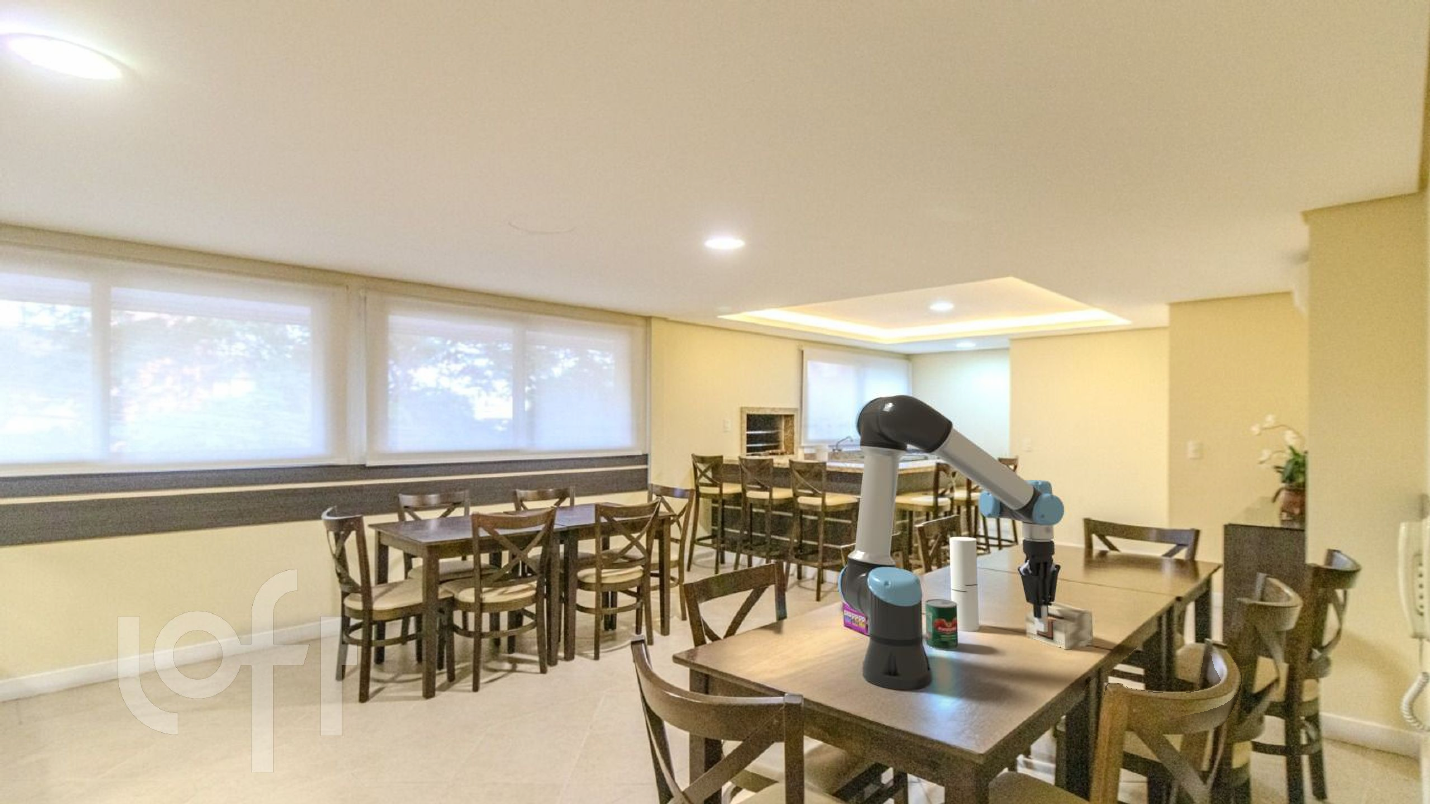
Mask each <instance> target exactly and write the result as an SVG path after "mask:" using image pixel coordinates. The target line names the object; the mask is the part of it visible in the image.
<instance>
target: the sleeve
mask: <svg viewBox="0 0 1430 804" xmlns="http://www.w3.org/2000/svg"><path fill="white" fill-rule="evenodd" d="M1050 603H1052V605H1051V606H1048V614H1049V615H1048V616H1054V617H1057V618H1060V620H1052V635H1053V637H1047V636H1044V635H1041V634H1038V633H1037V630H1036V629H1035V617H1034V615H1033V612H1034V611H1027V612H1025V630H1026V631H1025V632H1026V637H1027V638H1029V637H1030V639H1032V638H1033V640H1036V641H1038V640H1039V641H1038V642H1041V641H1042V643H1044V642H1046V643H1045V644H1047V643H1049V644H1048V645H1050V644H1051V645H1050V646H1053V645H1054V646H1053V647H1056V646H1058V647H1057V648H1059V647H1061V648H1060V649H1062V648H1064V649H1066V650H1069V649H1068V648H1072V649H1076V648H1075V647H1078V648H1082V647H1081V646H1083V647H1087V646H1086V645H1089V646H1093V645H1094V634H1093V633H1094V632H1093V631H1094V630H1093V627H1094V626H1093V612H1092V611H1090V610H1087V609H1083V608H1078V607H1076V606H1072V605H1067V604H1065V603H1061V602H1056V601H1054V602H1050ZM1092 644H1093V645H1092ZM1064 649H1063V650H1064Z"/></svg>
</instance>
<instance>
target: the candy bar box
mask: <svg viewBox="0 0 1430 804" xmlns="http://www.w3.org/2000/svg"><path fill="white" fill-rule="evenodd" d="M842 600H843V599H842ZM842 604H843V605H842V606H843V607H842V608H843V610H842V612H843V617H842V618H843V626H844V627H846V628H848V629H850V630H852V629H853V630H852V631H855V632H858V633H860V634H862V635H864V636H870V631H869V618H868V617H866V616H865V615H863V614H861V613H859V612H857V611H855V610H853V609H852V608H851V607H850V606H849V605H848V604H847V603H846V602H845V601H844V600H843V601H842Z"/></svg>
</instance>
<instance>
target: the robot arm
mask: <svg viewBox="0 0 1430 804" xmlns="http://www.w3.org/2000/svg"><path fill="white" fill-rule="evenodd" d="M855 430H856V432H857V433H858V436H859V437H860V439H859V449H860V450H861V452H862V453H863V454H864V459H863V460H864V461H863V469H862V479H861V488H860V498H859V508H858V509H859V510H858V514H857V515H858V518H857V526H856V527H857V528H856V536H855V545H854V550H853V551H851V552H850V553H849V554H848V555H847V561H846V562H847V563H846V565H845V567H844V568H842V569H841V571H840V573H839V576H838V579H837V580H838V581H837V583H838V584H837V587H838V591H839V595H840V598H842V600H844V601H845V602H846V603H847V604H848V605H849V606H850V607H851V608H852V609H853V610H855V611H857V612H859V613H861V614H863V615H865V616H866V617H868V618H869V631H870V635H869V642H868V645H867V648H866V651H865V652H866V653H865V655H864V660H863V662H862V665H861V666H862V678H864V679H865V680H866V681H868V682H869V683H871V684H874V685H876V686H879V687H882V688H883V687H884V688H886V689H894V690H895V689H896V690H916V689H917V690H918V689H922V688H924V687H928V686H929V685H930V684H931V683H932V682H933V675H932V674H933V673H932V672H933V671H932V668H931V664H930V662H929V661H930V660H929V658H928V655H927V653H926V649H925V647H924V641H923V639H924V638H923V602H922V601H923V600H922V599H923V590H922V583H921V580H920V578H919V577H918V575H916V574H915V573H914V572H912V571H910V570H907V569H901V568H899V567H896V561H895V560H894V559H893V557H892V556H891V550H892V549H891V548H892V536H893V527H894V517H895V509H896V498H897V489H898V488H897V487H898V481H899V480H898V476H899V469H900V459H901V458H902V457H904V456H905V455H906V454H907V451H908V445H909V446H912V447H915V448H917V449H918V450H920V451H922V452H923V453H925V454H926V455H935V456H936V457H938V459H940V460H942V461H943V462H945V463H946V464H947V465H949V466H950V467H952V468H953V469H954V470H956V471H957V472H959V473H960V474H961V475H963V476H965V478H967V479H969V480H970V481H971V482H972V483H974V484H976V485H977V486H978V487H980V488H981V489H983V490H982V491H981V493H980V494H979V496H978V500H977V501H978V509H979V512H980V513H981V515H982V516H984V517H985V518H986V519H995V520H998V519H1007V520H1012V521H1013V520H1014V521H1017V522H1018V521H1019V522H1021V532H1022V533H1021V535H1022V537H1023V540H1022V552H1023V554H1024V555H1025V559H1024V564H1023V565H1022V566H1018V567H1017V572H1018V574H1019V575H1020V578H1021V581H1022V582H1021V583H1022V588H1023V591H1024V597H1025V601H1026V603H1029V604H1031V605H1032V608H1033V611H1034V612H1033V611H1032V612H1033V615H1034V617H1035V629H1036V630H1039V631H1042V632H1047V631H1048V618H1047V617H1048V615H1049V614H1048V606H1051V605H1052V603H1050V602H1055V599H1056V593H1057V592H1056V591H1057V585H1058V584H1057V583H1058V578H1059V572H1060V570H1061V567H1062V566H1061V565H1060V564H1057V563H1055V562H1054V558H1053V556H1055V552H1056V551H1055V541H1054V540H1053V539H1054V537H1055V534H1054V531H1055V530H1054V529H1055V528H1054V525H1058V524H1059V523H1060V522H1061V521H1062V519H1063V518H1064V515H1065V506H1064V503H1063V501H1062V499H1060V497H1059V496H1057V495H1054V494H1053V486H1052V483H1051V482H1050V481H1048V480H1041V479H1040V480H1038V479H1026V480H1025V479H1024V478H1022V477H1021V476H1020V475H1018V474H1017V473H1015V472H1014V471H1013V470H1011V469H1010V468H1009V467H1008V466H1007V465H1004V464H1003V463H1002V462H1000V460H998V459H997V458H995V457H993V456H992V455H991V454H989V453H988V452H987V451H985V450H984V449H983V448H981V447H980V446H979V445H977V444H976V443H975V442H974V441H972V440H970V439H969V438H968V437H966V436H965V435H964V434H962V433H960V432H959V431H958V430H957V429H956V428H954V423H953V421H951V420H950V419H949V418H948V417H947V416H945V415H944V414H942V413H941V412H940V411H938V410H937V409H935V408H934V407H932V406H930V405H929V404H927V403H926V402H925V401H922V400H921V399H919V398H917V397H915V396H912V395H907V394H899V395H898V394H897V395H891V396H880V397H875V398H873V399H870V400H868V401H866V402H865V403H864V404H863V405H861V406H860V408H859V409H858V411H857V413H856V416H855Z"/></svg>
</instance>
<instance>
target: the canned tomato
mask: <svg viewBox="0 0 1430 804" xmlns="http://www.w3.org/2000/svg"><path fill="white" fill-rule="evenodd" d="M924 603H925V641H926V643H925V645H926V646H927V647H928V646H929V647H928V648H930V647H932V648H931V649H933V648H935V649H934V650H937V649H938V650H939V651H954V650H957V649H958V648H959V636H958V634H959V633H958V632H959V630H958V628H957V627H958V626H957V624H958V623H957V603H956V602H954V601H951V599H944V598H931V599H927V600H925V601H924Z"/></svg>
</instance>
